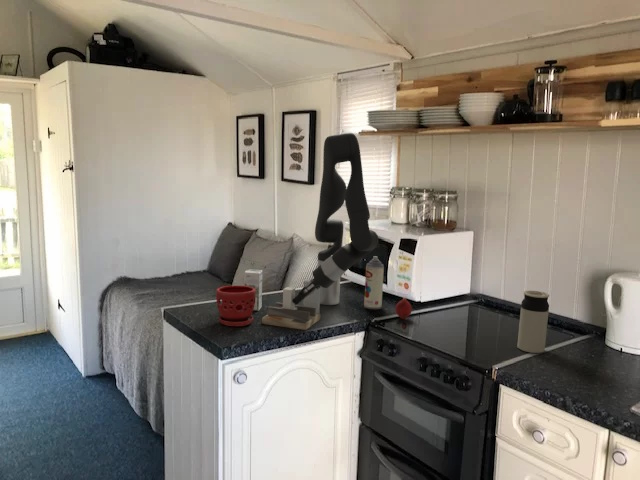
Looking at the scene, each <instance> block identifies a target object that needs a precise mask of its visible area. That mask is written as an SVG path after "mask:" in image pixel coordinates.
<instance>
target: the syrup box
mask: <svg viewBox="0 0 640 480" xmlns="http://www.w3.org/2000/svg"><path fill="white" fill-rule="evenodd" d="M243 279H244V285H243V286H249V287H253V288H255V290H256V298H255V306H254V310H253V312H254V311H255V312H256V311H257V312H259V311H260V310H261V308H262V306H263V304H262V302H263V298H262V296H263V269H246V270H245V271H244V278H243Z"/></svg>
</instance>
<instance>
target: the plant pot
mask: <svg viewBox="0 0 640 480" xmlns="http://www.w3.org/2000/svg"><path fill="white" fill-rule="evenodd" d="M215 291H216V293H215V295H216V296H215V297H216V306H217V309H218V313H219V315H220V316H219V317H218V321H219V323H221V324H222V325H224V326H228V327H246V326H247V325H250V324H251V323H252V322H253V321H254V316H253V315H252V314H253V312H254V311H253V310H254V306H255V298H256V290H255V288H253V287H249V286H244V285H226V286H221V287H218V288H217V289H216V290H215ZM221 302H222V303H221Z"/></svg>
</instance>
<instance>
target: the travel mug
mask: <svg viewBox="0 0 640 480" xmlns="http://www.w3.org/2000/svg"><path fill="white" fill-rule="evenodd" d="M549 297H550V294H549V293H547V292H544V291H539V290H524V291H523V299H522V300H521V303H520V304H521V305H520V314H519V325H518V335H517V336H518V337H517V345H516V347H517V349H519V350H521V351H522V352H526V353H530V354H531V353H532V354H541V353H544V352H545V350H546V349H545V347H546V340H547V339H546V337H547V331H548V328H547V327H548V319H549V312H550V304H549V301H548V299H549Z"/></svg>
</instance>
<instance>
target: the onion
mask: <svg viewBox="0 0 640 480" xmlns="http://www.w3.org/2000/svg"><path fill="white" fill-rule="evenodd" d="M412 308H413V307H412V305H411V303H410V302H409V301H408V300H407V298H406V297H403V298H402V299H401V300H399V302H397V303H396V305H395V308H394V309H395V310H394V311H395V314H396V315H397V316H398V317H399V318H400V319H401V320H405V319H406V318H408V317H409V316H410V315H411V314H412V311H413V309H412Z"/></svg>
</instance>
